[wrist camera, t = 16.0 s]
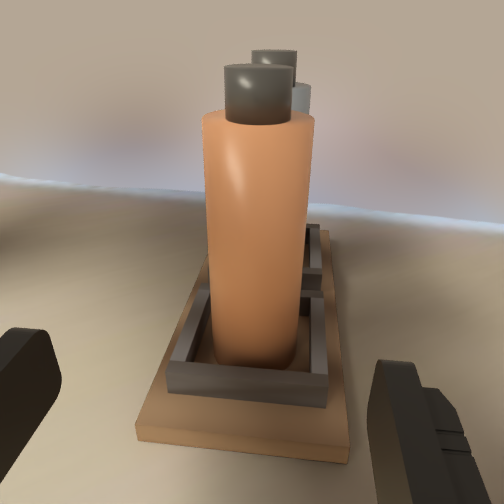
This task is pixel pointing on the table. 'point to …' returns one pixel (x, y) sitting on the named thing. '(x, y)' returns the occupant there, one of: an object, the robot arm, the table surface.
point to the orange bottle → (256, 215)
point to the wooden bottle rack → (256, 380)
